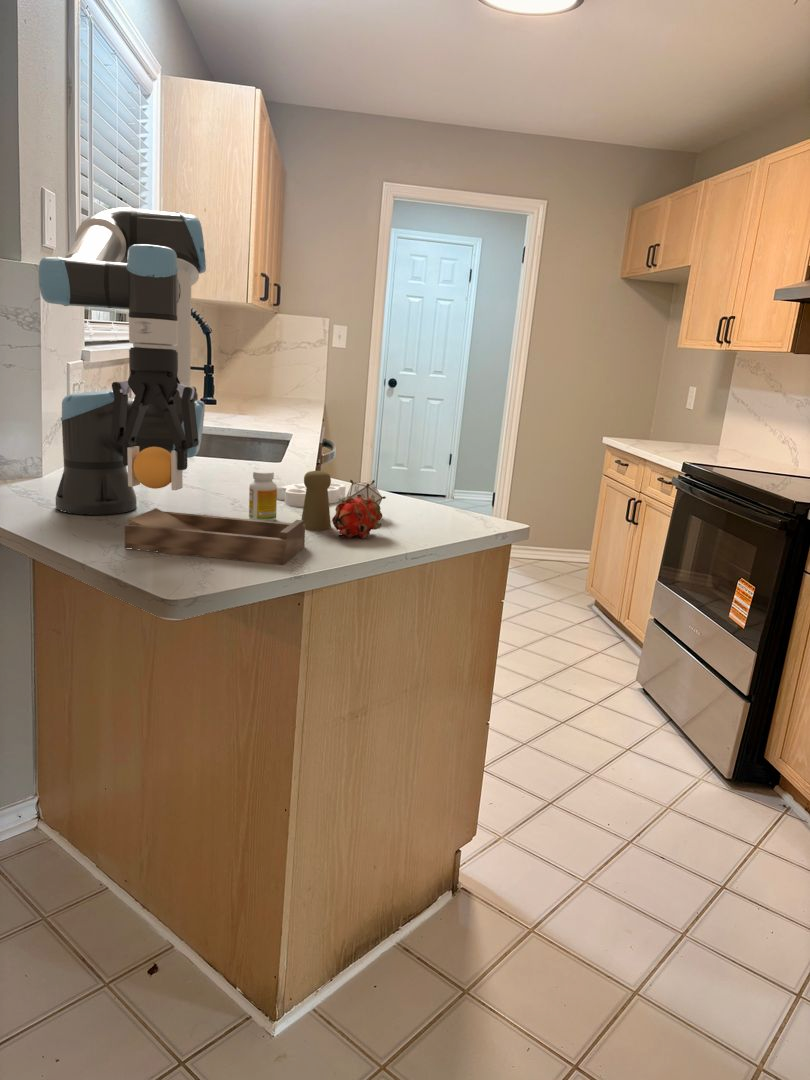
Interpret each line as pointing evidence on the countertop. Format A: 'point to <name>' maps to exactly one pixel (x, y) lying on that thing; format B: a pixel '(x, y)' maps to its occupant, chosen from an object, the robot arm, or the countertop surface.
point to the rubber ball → (153, 467)
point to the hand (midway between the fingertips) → (155, 486)
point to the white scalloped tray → (297, 492)
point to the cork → (316, 501)
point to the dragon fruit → (357, 517)
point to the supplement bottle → (262, 496)
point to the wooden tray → (215, 536)
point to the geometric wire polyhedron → (364, 491)
